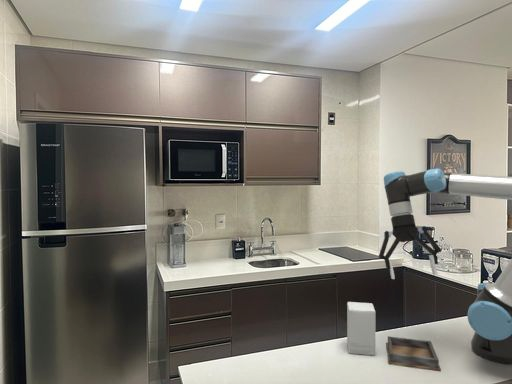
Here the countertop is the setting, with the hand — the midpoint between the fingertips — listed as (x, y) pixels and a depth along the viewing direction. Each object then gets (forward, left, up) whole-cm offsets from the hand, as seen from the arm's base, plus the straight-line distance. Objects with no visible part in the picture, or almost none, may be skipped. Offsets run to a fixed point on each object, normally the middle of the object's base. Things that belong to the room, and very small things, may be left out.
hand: (413, 276), depth 121 cm
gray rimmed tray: (+1, +5, -25) cm, 26 cm away
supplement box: (+17, +4, -26) cm, 31 cm away
